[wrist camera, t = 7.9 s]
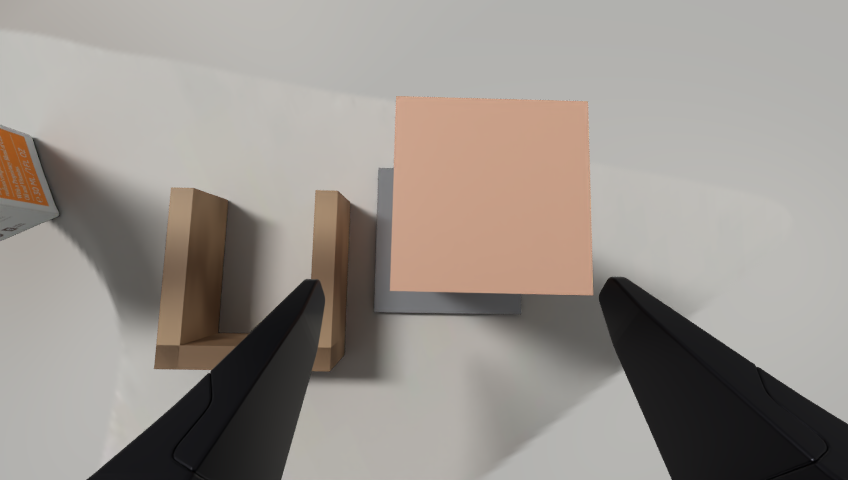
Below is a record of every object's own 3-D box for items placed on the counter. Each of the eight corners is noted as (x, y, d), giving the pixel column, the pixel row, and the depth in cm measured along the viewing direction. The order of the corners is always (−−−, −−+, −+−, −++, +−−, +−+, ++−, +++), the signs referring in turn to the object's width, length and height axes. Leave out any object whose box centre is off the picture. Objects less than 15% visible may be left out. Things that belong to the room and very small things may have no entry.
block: (483, 277, 19) (593, 295, 7) (409, 276, 19) (389, 291, 7) (484, 204, 19) (587, 101, 7) (411, 202, 19) (395, 96, 7)
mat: (519, 313, 19) (521, 314, 19) (375, 311, 19) (373, 311, 19) (517, 172, 20) (519, 170, 20) (379, 170, 20) (378, 168, 19)
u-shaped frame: (344, 354, 19) (329, 371, 16) (196, 352, 19) (154, 369, 16) (350, 202, 20) (337, 190, 17) (209, 199, 20) (171, 187, 17)
